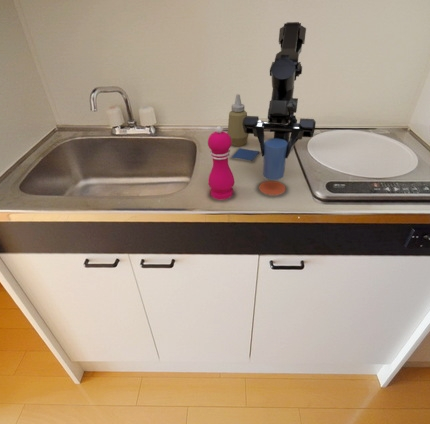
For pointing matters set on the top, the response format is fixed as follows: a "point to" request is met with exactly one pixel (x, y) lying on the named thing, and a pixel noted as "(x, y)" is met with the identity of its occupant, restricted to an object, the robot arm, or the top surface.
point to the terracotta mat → (272, 188)
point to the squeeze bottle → (237, 123)
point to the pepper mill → (220, 165)
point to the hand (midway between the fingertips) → (274, 157)
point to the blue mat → (245, 154)
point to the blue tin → (274, 158)
